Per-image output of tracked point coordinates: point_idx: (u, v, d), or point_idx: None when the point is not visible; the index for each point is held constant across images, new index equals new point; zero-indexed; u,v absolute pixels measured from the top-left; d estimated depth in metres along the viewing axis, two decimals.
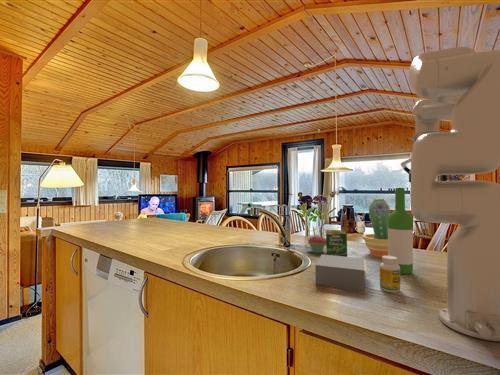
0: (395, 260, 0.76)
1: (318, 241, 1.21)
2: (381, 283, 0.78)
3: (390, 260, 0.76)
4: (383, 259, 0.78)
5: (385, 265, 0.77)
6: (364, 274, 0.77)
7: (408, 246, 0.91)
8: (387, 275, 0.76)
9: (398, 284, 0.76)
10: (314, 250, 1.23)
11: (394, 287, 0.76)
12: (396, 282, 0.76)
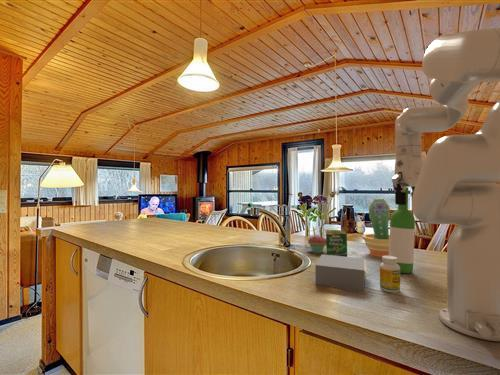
0: (395, 260, 0.76)
1: (318, 241, 1.21)
2: (381, 283, 0.78)
3: (390, 260, 0.76)
4: (383, 259, 0.78)
5: (385, 265, 0.77)
6: (364, 274, 0.77)
7: (409, 245, 0.91)
8: (387, 275, 0.76)
9: (398, 284, 0.76)
10: (314, 250, 1.23)
11: (394, 287, 0.76)
12: (396, 282, 0.76)
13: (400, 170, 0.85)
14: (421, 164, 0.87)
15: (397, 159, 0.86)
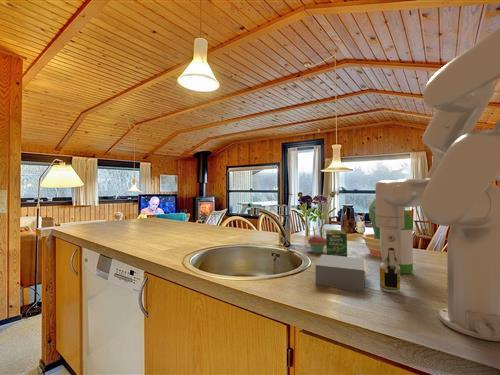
0: None
1: (318, 241, 1.21)
2: (381, 283, 0.78)
3: None
4: None
5: None
6: (364, 274, 0.77)
7: (408, 246, 0.91)
8: None
9: (398, 284, 0.76)
10: (314, 250, 1.23)
11: None
12: None
13: (392, 246, 0.74)
14: None
15: (386, 232, 0.75)
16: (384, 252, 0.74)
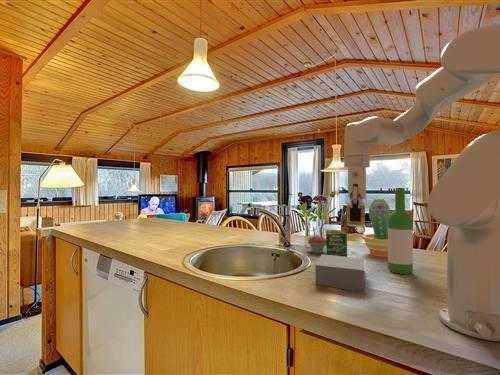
0: (360, 197, 0.82)
1: (318, 241, 1.21)
2: (347, 219, 0.84)
3: None
4: (350, 197, 0.84)
5: None
6: (364, 274, 0.77)
7: (408, 246, 0.91)
8: None
9: (362, 219, 0.82)
10: (314, 250, 1.23)
11: None
12: None
13: (356, 182, 0.79)
14: None
15: (352, 169, 0.80)
16: (349, 188, 0.80)
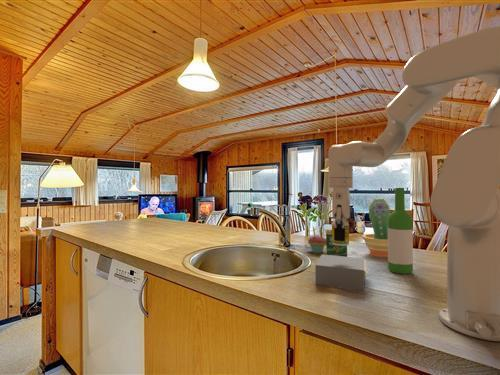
0: (344, 217, 0.85)
1: (318, 241, 1.21)
2: (332, 238, 0.86)
3: None
4: (334, 217, 0.86)
5: None
6: (364, 274, 0.77)
7: (408, 246, 0.91)
8: None
9: (346, 238, 0.84)
10: (314, 250, 1.23)
11: None
12: None
13: (339, 203, 0.82)
14: None
15: (335, 191, 0.83)
16: (333, 209, 0.83)
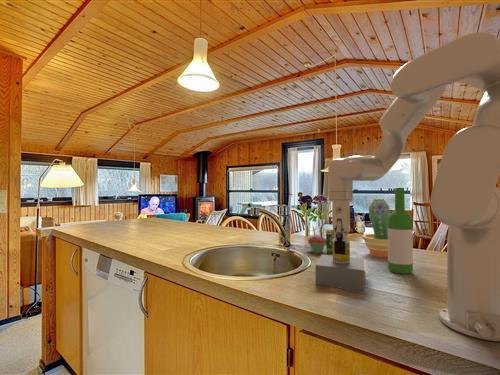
0: (344, 234, 0.84)
1: (318, 241, 1.21)
2: (333, 256, 0.86)
3: None
4: None
5: None
6: (364, 274, 0.77)
7: (408, 246, 0.91)
8: None
9: (347, 256, 0.84)
10: (314, 250, 1.23)
11: (343, 258, 0.84)
12: (345, 254, 0.84)
13: (339, 217, 0.82)
14: None
15: (335, 204, 0.83)
16: (333, 223, 0.83)
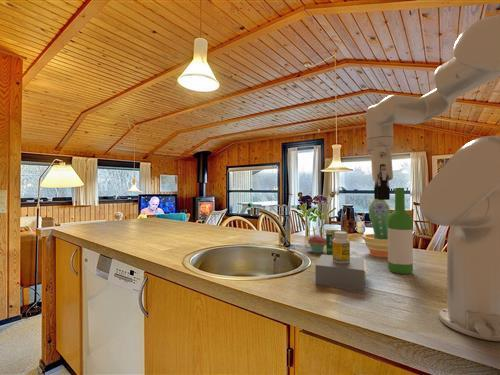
0: (345, 234, 0.84)
1: (318, 241, 1.21)
2: (333, 256, 0.86)
3: (340, 234, 0.84)
4: (335, 234, 0.86)
5: (336, 239, 0.85)
6: (364, 274, 0.77)
7: (408, 246, 0.91)
8: (337, 248, 0.84)
9: (347, 256, 0.84)
10: (314, 250, 1.23)
11: (343, 258, 0.84)
12: (345, 254, 0.84)
13: (383, 162, 0.78)
14: None
15: (377, 150, 0.79)
16: (376, 169, 0.79)
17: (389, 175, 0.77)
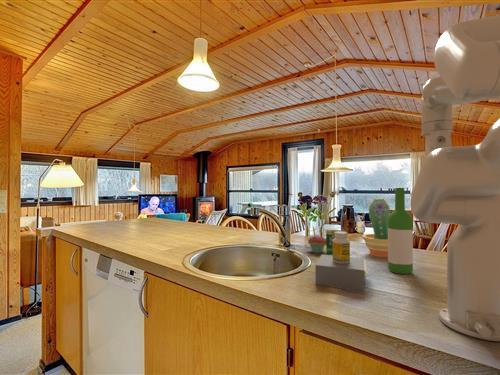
0: (345, 234, 0.84)
1: (318, 241, 1.21)
2: (333, 256, 0.86)
3: (340, 234, 0.84)
4: (335, 234, 0.86)
5: (336, 239, 0.85)
6: (364, 274, 0.77)
7: (408, 246, 0.91)
8: (338, 248, 0.84)
9: (347, 256, 0.84)
10: (314, 250, 1.23)
11: (343, 258, 0.84)
12: (345, 254, 0.84)
13: (441, 147, 0.74)
14: None
15: (435, 135, 0.75)
16: None
17: None
